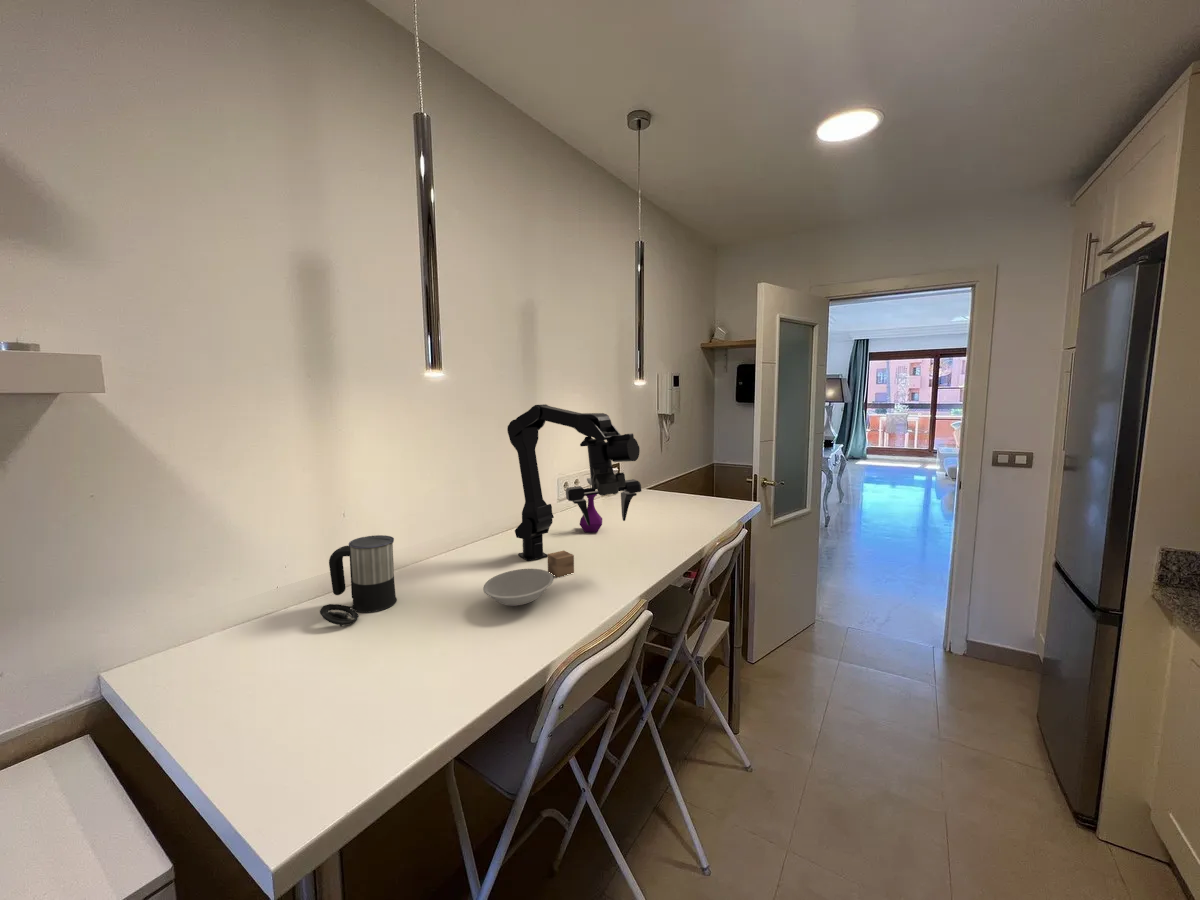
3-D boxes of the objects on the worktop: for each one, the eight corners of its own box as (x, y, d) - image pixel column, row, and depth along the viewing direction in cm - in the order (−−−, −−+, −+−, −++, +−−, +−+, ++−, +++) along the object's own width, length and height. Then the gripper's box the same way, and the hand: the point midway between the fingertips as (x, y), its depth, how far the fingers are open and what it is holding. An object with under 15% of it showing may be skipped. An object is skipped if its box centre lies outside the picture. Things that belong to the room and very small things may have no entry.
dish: (515, 584, 124) (515, 564, 124) (566, 594, 118) (566, 573, 117) (468, 613, 108) (467, 591, 108) (524, 626, 102) (523, 602, 102)
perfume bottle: (602, 533, 167) (601, 480, 164) (579, 534, 167) (578, 480, 165) (602, 527, 174) (602, 476, 172) (580, 527, 174) (580, 476, 172)
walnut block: (547, 572, 132) (547, 553, 132) (564, 568, 135) (564, 550, 135) (557, 578, 128) (556, 559, 128) (574, 573, 131) (573, 555, 131)
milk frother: (399, 594, 119) (395, 532, 117) (393, 623, 104) (389, 553, 102) (332, 602, 115) (327, 538, 113) (316, 633, 100) (310, 561, 98)
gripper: (568, 469, 119) (575, 534, 119) (644, 460, 122) (650, 523, 123) (562, 466, 129) (569, 526, 130) (632, 457, 133) (638, 516, 134)
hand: (606, 523), depth 129 cm, fingers open, 9 cm apart
